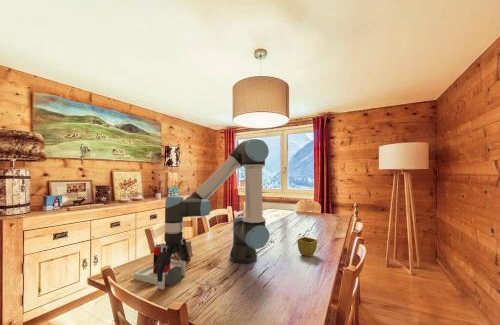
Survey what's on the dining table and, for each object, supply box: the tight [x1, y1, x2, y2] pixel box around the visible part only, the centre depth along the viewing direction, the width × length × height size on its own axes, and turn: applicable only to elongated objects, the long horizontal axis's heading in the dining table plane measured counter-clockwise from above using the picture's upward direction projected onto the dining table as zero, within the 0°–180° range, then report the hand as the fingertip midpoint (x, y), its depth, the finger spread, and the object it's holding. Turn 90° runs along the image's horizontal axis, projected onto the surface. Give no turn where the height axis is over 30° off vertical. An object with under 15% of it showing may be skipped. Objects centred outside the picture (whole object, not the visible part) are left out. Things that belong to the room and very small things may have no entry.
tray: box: [133, 258, 187, 286], centre depth 107 cm, size 13×19×2 cm
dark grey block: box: [165, 266, 182, 287], centre depth 98 cm, size 5×5×6 cm
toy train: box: [172, 236, 194, 261], centre depth 126 cm, size 6×17×10 cm, turn 39°
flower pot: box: [296, 236, 318, 258], centre depth 131 cm, size 9×9×9 cm
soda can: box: [152, 242, 172, 274], centre depth 107 cm, size 8×8×12 cm
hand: (172, 281), depth 98 cm, fingers open, 12 cm apart
